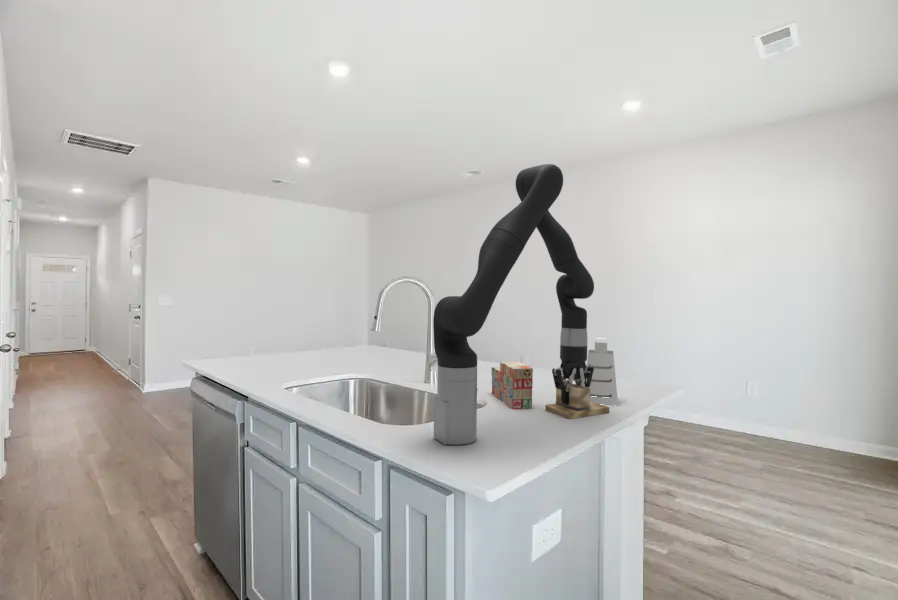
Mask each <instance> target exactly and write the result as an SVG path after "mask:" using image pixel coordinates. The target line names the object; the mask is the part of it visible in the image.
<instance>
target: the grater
mask: <svg viewBox="0 0 898 600" xmlns="http://www.w3.org/2000/svg"><path fill="white" fill-rule="evenodd" d="M614 358H615V357H614V351H613V350H608V337H600V336H599V337H596V336H595V337H594V349H589V350H588V351H587V360H586V361H587V362H586V366H589V367H593V368H594V371H593V375H592V380H591V384H590V387H588V388H590V402H593V403H596V404H604V405H603V406H607V405H616V406H615V407H619V401H618V400H619V399H618V389H617V378H616V368H615V359H614ZM586 382H587V379H586ZM591 396H597V397H591ZM602 397H609V398H602Z"/></svg>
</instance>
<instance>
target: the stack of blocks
mask: <svg viewBox="0 0 898 600" xmlns="http://www.w3.org/2000/svg"><path fill="white" fill-rule="evenodd" d="M533 374H534V368H533V367H531V366H530V365H528V364H524V363H522V362H520V361H500V364H499V366H491V394H492V395H494V397H496V398H497V399H499V400H500V401H501V402H503V403H504V404H505V405H506V406H508V407H509V408H510V409H512V410H524V409H525V410H528V409H533Z"/></svg>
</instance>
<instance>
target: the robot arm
mask: <svg viewBox="0 0 898 600" xmlns="http://www.w3.org/2000/svg"><path fill="white" fill-rule="evenodd" d="M563 186H564V174H563V172H562V170H561V168H560V167H559V166H557V165H555V164H553V163H552V164H551V163H547V164H545V163H543V164H540V165H535V166H531V167H528V168H524V169H522V170H520V171H519V172H518V174H517V175H516V178H515V189H516V194H517V195H518V198H519V200H520V201H521V202H519V203H518V205H516V207H514V208H513V209H512V210H510V211H509V212H508V213H507V214H505V215H504V216H503V217H501V218H500V220H498V222H496V223H495V224H494V226H493V227H492V229H491V230H490V231H489V233H488V235H487V236H486V238H485V239H484V241H483V243H482V245H481V246H480V248H479V254H478V262H477V271H476V274H475V276H474V278H473V280H472V282H471V283H470V285H469V286H468V287H467V289H466V291H465V292H464V293H463V294H462V295H458V296H457V295H451V296H445V297H442V298H441V299H440V300H439V301H438V302H437V304H436V305H435V307H434V312H433V318H432V319H433V321H432V322H433V323H432V325H433V348H434V352H435V355H436V359H437V384H436V385H437V389H436V390H437V394H436V396H435V397H434V398H433V438H434V439H436V440H437V441H438V442H440V443H442V444H443V445H444V446H448V445H456V446H457V445H468V444H472V443H474V442H476V440H477V431H478V429H477V424H478V423H477V422H478V418H477V416H478V412H477V411H478V409H477V408H478V354H477V353H476V352H475V350H473V349H472V347H470V344H469V342H468V337H469V338H470V337H472V336H474V335H476V334H477V333H478V332H479V331H480V330H481V329H482V327H483V326H484V324H485V322H486V320H487V317H488V316H489V314H490V312H491V309H492V307H493V304H494V302H495V299H496V298H497V296H498V293H499V291H500V289H501V288H502V287H503V285H504V283H505V281H506V279H507V278H508V276H509V274H510V272H511V270H512V269H513V267H514V265H516V262H517V261H518V259H519V257H520V256H521V254H522V253H523V251H524V250H525V249H524V248H525V247H526V245H527V243H528V242H529V240H530V238H531V236H532V235H533V233H534V232H535V230H536V229H537V231H538V233H539V234H540V237H541V238H542V239H543V243H544V245H545V247H546V249H547V252H548V255H549V257H550V260H551V263H552V265H553V268H554V270H556V271H557V272H559V273H562V275H561V276H560V277H559V278H558V279H557V281H556V285H555V291H556V295H557V300H558V303H559V308H560V313H561V325H560V326H561V328H560V329H561V330H560V336H559V337H560V338H559V339H560V340H559V358H560V359H559V360H560V362H561V363H560V366H559V367H557V368H552V370H551V373H552V377H553V381H554V382H553V383H554V387H555V389H556V388H557V389H560V390H561V401H562V403H563V404H565V405H569V392H568V391H569V389H570V385H571V384H573V383H574V382H575V383H574V384H576V385H580V386H584V387H590V384H591V380H592V375H593V371H594V368H593V367H589V366H587V363H586V361H588V337H589V336H588V312H587V310H586V309H585V308H584V307H581V306H578V305H577V304H576V301H575V300H577V299H578V300H584V299H585V300H586V299H588V298H590V297H591V296H592V295H593V294H594V291H595V282H594V279H593V277H592V275H591V274H590V273H591V272H589V270H588V269H587V268H586V266H585V265H584V264H583V262H582V261H581V259H580V258H579V257H578V252H577V250H576V247H575V244H574V242H573V240H572V238H571V236H570V234H569V233H568V232H567V230H566V229H565V228H564V227H563V226H562V225H561V223H559V221H557V220H556V219H555V217H554V216H553V214H552V213H551V212H550V210H549V209H550V208H551V207H552V206H553V204H554V203H555V201H556V200H557V199H558V197H559V196H560V194H561V192H562V189H563ZM586 379H587V382H586ZM565 385H566V387H565Z"/></svg>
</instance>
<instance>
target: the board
mask: <svg viewBox="0 0 898 600" xmlns="http://www.w3.org/2000/svg"><path fill="white" fill-rule="evenodd" d="M544 407H545V408H544V411H545V412H549V413H551V414H553V415H555V416H556V415H557V416H559V417H563V418H565V419H568V420H570V419H571V420H573V419H578V418H585V417H590V416H591V415H592V416H598V414H599V415H605V414H609V413H610V406H607V405H600V404H596V403H593V402H590V409H589V410H582V411H576V410H573V409H570V408H567V407H564V406H561V405H558V404H556V403H551V404H545V405H544ZM592 416H591V417H592Z"/></svg>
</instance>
